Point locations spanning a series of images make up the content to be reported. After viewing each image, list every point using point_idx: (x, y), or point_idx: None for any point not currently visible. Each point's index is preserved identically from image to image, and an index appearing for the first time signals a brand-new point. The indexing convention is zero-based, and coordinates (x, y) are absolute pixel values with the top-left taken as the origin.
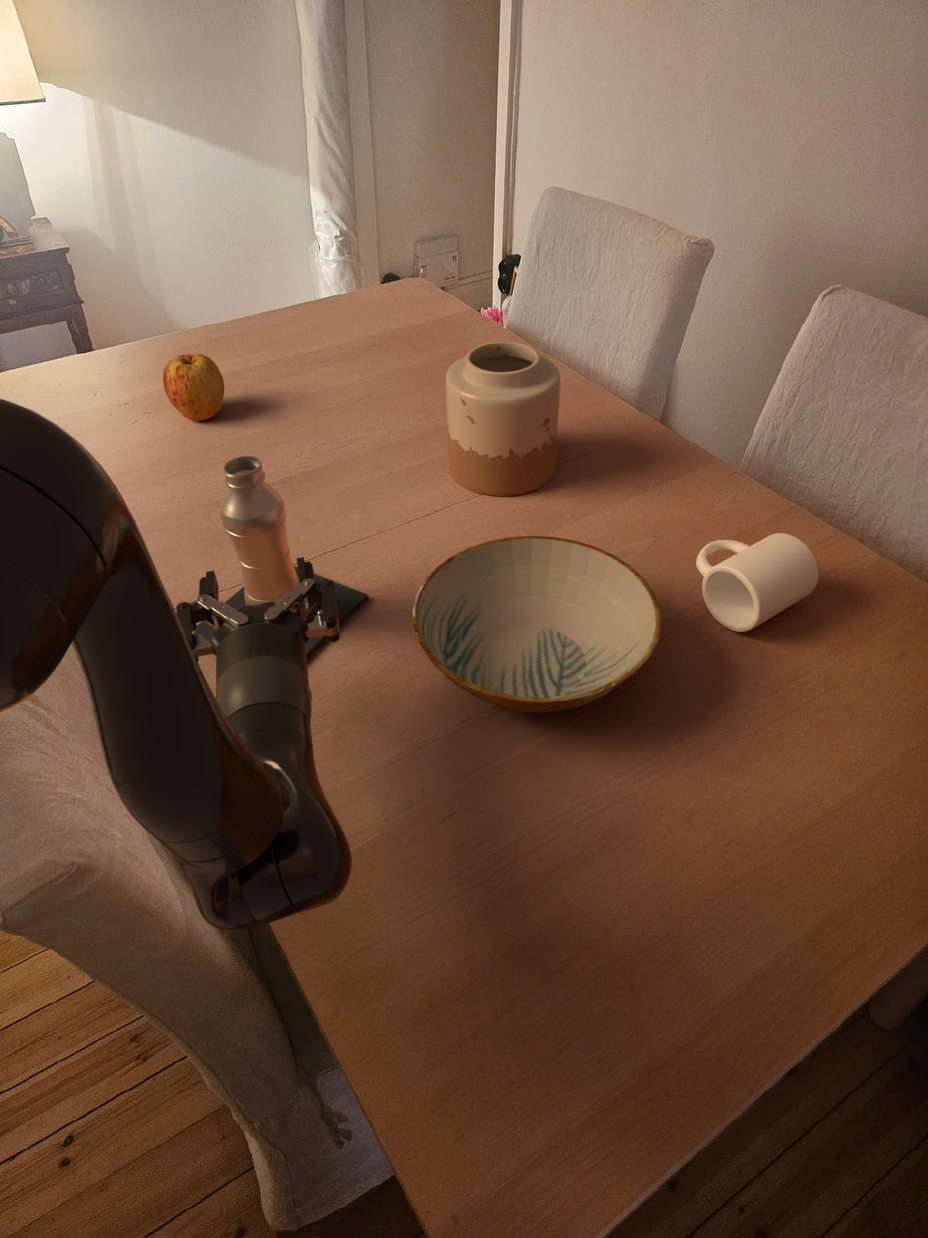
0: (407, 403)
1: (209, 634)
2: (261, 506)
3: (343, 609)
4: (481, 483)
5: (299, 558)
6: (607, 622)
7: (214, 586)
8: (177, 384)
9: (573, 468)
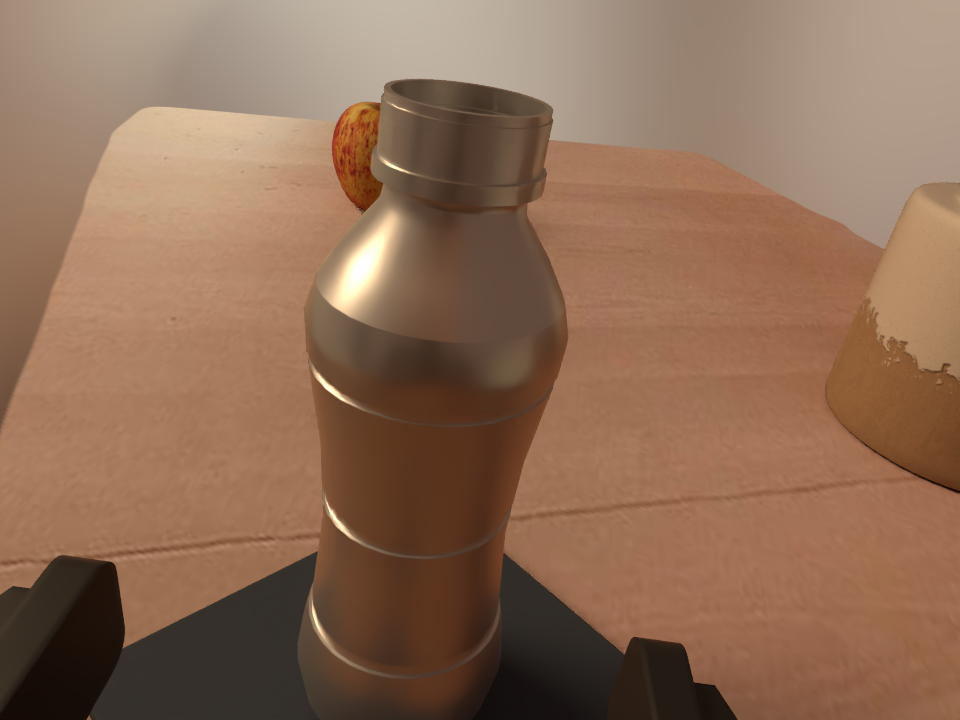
0: (714, 275)
1: (151, 695)
2: (491, 299)
3: None
4: (934, 453)
5: (660, 650)
6: None
7: (34, 698)
8: (354, 136)
9: None
